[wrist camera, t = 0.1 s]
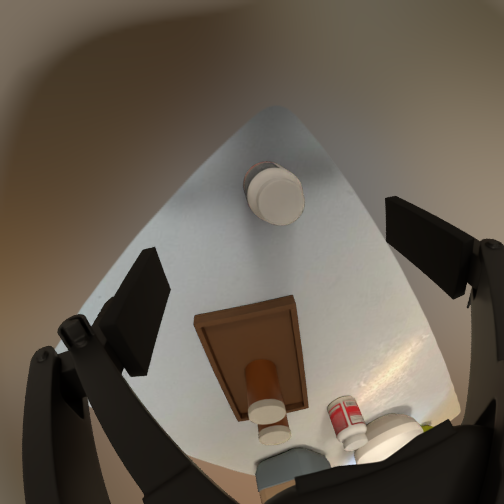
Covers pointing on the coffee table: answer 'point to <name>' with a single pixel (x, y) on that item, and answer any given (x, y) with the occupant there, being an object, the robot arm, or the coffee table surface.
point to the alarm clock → (287, 470)
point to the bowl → (387, 437)
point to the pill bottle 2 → (348, 423)
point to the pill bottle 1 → (274, 193)
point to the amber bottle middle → (263, 392)
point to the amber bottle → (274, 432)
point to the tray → (255, 349)
